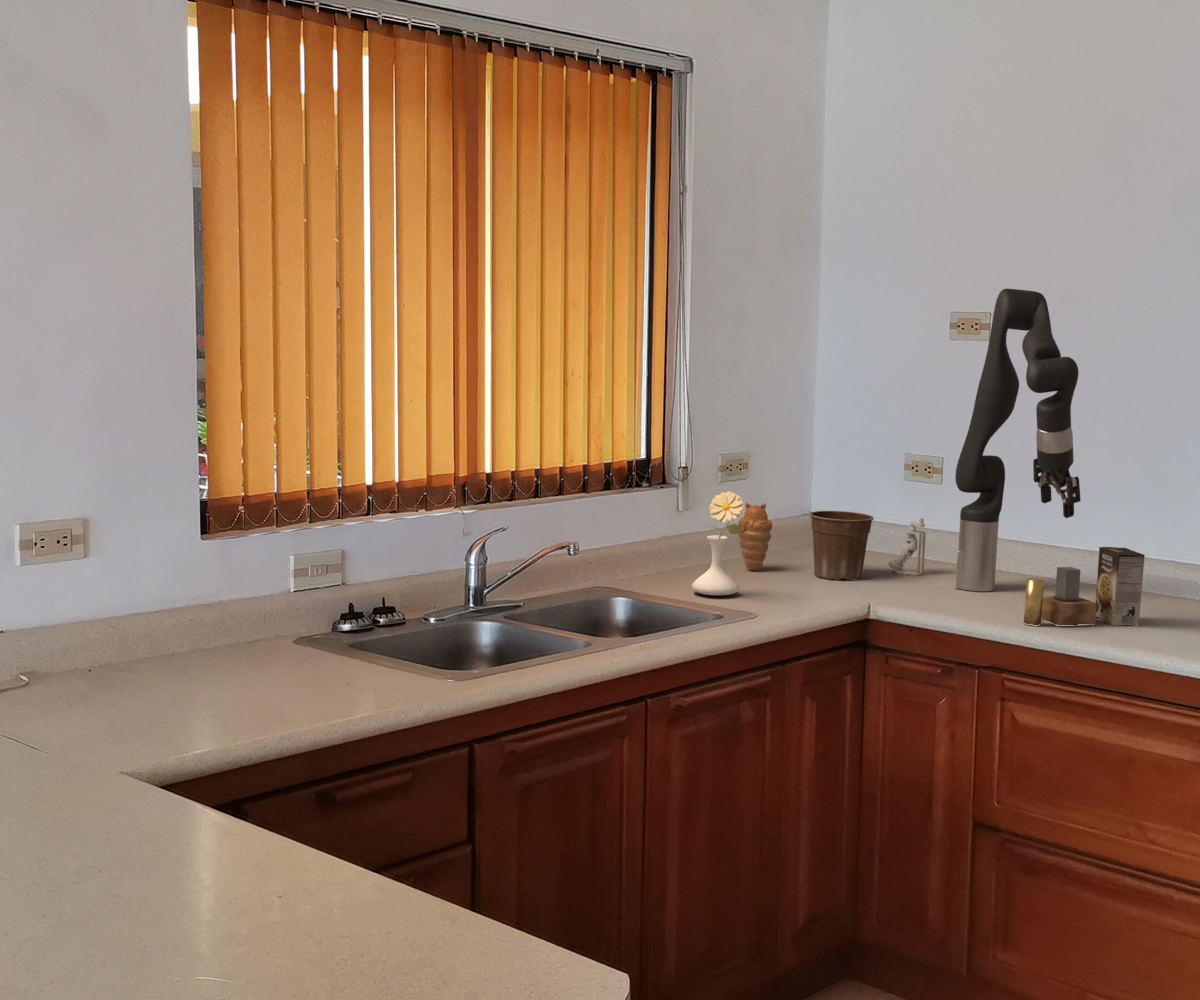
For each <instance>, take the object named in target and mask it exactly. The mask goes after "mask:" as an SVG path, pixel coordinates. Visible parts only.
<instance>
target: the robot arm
mask: <svg viewBox="0 0 1200 1000" xmlns="http://www.w3.org/2000/svg"><path fill="white" fill-rule="evenodd" d="M1050 318H1051V317H1050V312H1049V306H1048V303H1047V300H1046V298H1045V295H1044V294H1043V293H1041V292H1038V291H1035V290H1034V291H1033V290H1026V289H1018V288H1016V289H1015V288H1003V289H1002V290H1000V292H999V294H998V295H997V298H996V301H995V305H994V310H993V315H992V321H991V327H990V333H989V340H988V346H987V351H986V355H985V359H984V363H983V367H982V372H981V376H980V379H979V382H978V387H977V392H976V395H975V400H974V405H973V410H972V413H971V414H972V415H971V419H970V422H969V427H968V430H967V433H966V436H965V440H964V441H963V442H964V443H963V445H962V448H961V451H960V455H959V458H958V461H957V464H956V469H955V477H954V478H955V483H956V487H957V489H958V490H959V491H960V492H962V493H969V494H979V496H978V498H976V500H974V501H973V502H972V503H969V504H966V505H965V506H963V507H961V510H960V514H959V531H958V532H959V535H958V549H957V556H956V557H957V560H956V578H955V589H957V590H958V589H959V590H965V591H970V592H991V591H995V586H996V574H997V573H996V569H997V554H998V541H999V540H998V539H999V538H998V537H999V535H998V534H999V521H1000V514H1001V512H1002V509H1003V508H1002V507H1003V500H1004V489H1005V484H1006V482H1005V481H1006V467H1005V463H1004V461H1003V459H1002V458H1001V457H1000V456H997V455H989V454H988V455H985V454H984V452H985V450H986V447H987V446H988V443H989V442H990V440H991V439H992V437H993V436H994V434H996V433H997V432H998V431H999V429H1000V428H1002V426H1003V425H1004V424H1005V423H1006V422H1007V420H1008V419H1009V418H1010V417H1011V415H1012V413H1013V412H1014V410H1015V405H1016V402H1017V397H1018V394H1019V388H1020V380H1019V377H1018V374H1017V371H1016V369H1015V366H1014V364H1013V362H1012V359H1011V357H1010V353H1009V350H1008V346H1007V345H1008V344H1007V335H1008V334H1007V333H1008V330H1014V331H1015V330H1016V331H1027V332H1026V334H1025V335H1024V337H1023V340H1022V345H1021V346H1022V348H1021V349H1022V352H1023V355H1024V357H1025V360H1026V362H1027V367H1026V373H1025V375H1026V376H1025V380H1026V385H1027V387H1028V388H1029V389H1030V391H1032V393H1033V392H1034V393H1036V394H1046V393H1051V392H1052V393H1053V392H1055V393H1054V394H1053V395H1049V396H1048V397H1045V398H1043V399H1041V400H1040V401H1039V402H1037V404H1036V409H1035V410H1036V413H1035V414H1036V456H1037V458H1034V459H1033V467H1032V468H1033V469H1032V470H1033V481H1034V482H1035V483H1038V484H1037V487H1038V488H1040V500H1041V503H1042V504H1047V503H1050V502H1052V487H1053V488H1054V489H1055V492H1056V493H1057V495H1059V496H1060V497H1061V500H1062V515H1063V517H1064V518H1066V519H1068V518H1072V517H1074V515H1075V504H1076V503H1079V502H1081V487H1080V478H1079V477H1078V476H1071V473H1070V468H1071V466H1072V465H1073V464H1074V461H1075V460H1074V458H1075V457H1074V438H1073V437H1074V434H1073V430H1072V414H1071V413H1072V411H1071V410H1072V402H1073V398H1074V394H1075V390H1076V388H1077V387H1076V386H1077V385H1078V379H1079V367H1078V364H1077V362H1076V360H1074V359H1073V358H1071V357H1069V356H1062V354H1061V351H1060V348H1059V346H1058V345H1057V342H1056V340H1055V338H1054V335H1053V333H1052V324H1051V319H1050ZM1039 474H1040V475H1039ZM1064 487H1066V488H1064ZM1062 488H1063V489H1062Z"/></svg>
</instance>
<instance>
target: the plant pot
mask: <svg viewBox="0 0 1200 1000" xmlns="http://www.w3.org/2000/svg"><path fill="white" fill-rule="evenodd" d="M809 516H810V518H811V519H810V520H811V522H810V524H811V530H812V538H813V539H812V541H813V542H812V543H813V545H812V546H813V574H814V575H815V576H816V577H818V578H821V579H824V578H825V579H824V580H829V579H831V580H832V579H834V580H833V581H840V580H842V579H843V580H845V579H846V580H845V581H855V580H854V579H858V580H860V579H862V577H863V570H864V565H865V557H866V550H867V545H868V538H869V534H870V533H871V528H872V521H874V519H875V517H874V516H873V515H869V514H867V513H861V512H856V511H855V512H854V511H841V510H817V511H816V510H815V511H812V512H809Z"/></svg>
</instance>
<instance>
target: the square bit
mask: <svg viewBox="0 0 1200 1000" xmlns="http://www.w3.org/2000/svg"><path fill="white" fill-rule="evenodd" d="M1055 579H1056V580H1055V593H1054V594H1055V599H1056V600H1059V601H1062V602H1078V599H1079V596H1080V582H1081V569H1079V568H1075V567H1072V566H1061V567H1056V578H1055Z"/></svg>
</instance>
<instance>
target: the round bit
mask: <svg viewBox="0 0 1200 1000" xmlns="http://www.w3.org/2000/svg"><path fill="white" fill-rule="evenodd" d="M1044 588H1045V579H1042V578H1037V577H1028V578H1026V588H1025V597H1024V599H1025V601H1024V602H1025V603H1024V616H1023V624H1024V623H1026V624H1033V625H1039V624H1041V625H1042V620H1041V617H1042V604H1043V596H1044V592H1045V590H1044Z"/></svg>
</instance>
